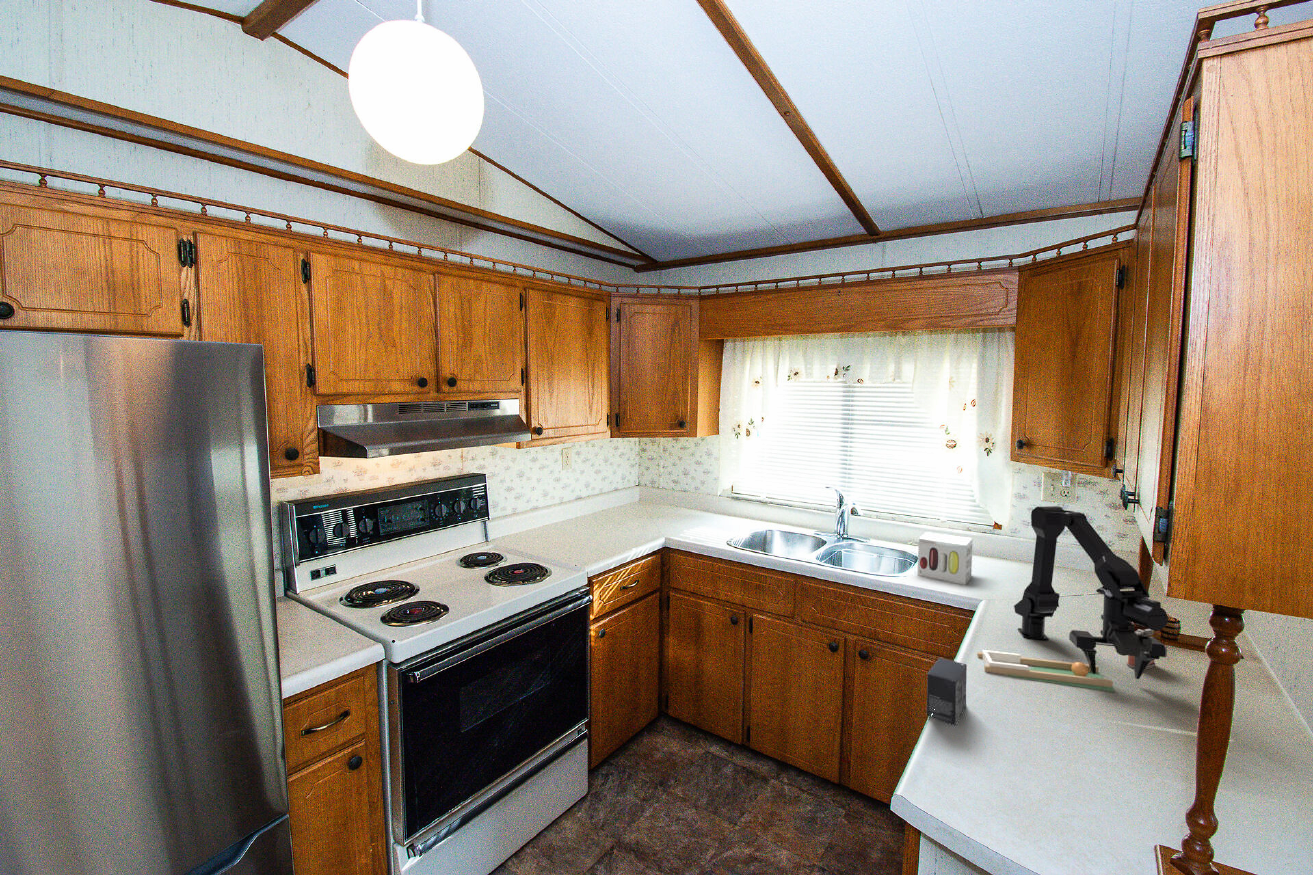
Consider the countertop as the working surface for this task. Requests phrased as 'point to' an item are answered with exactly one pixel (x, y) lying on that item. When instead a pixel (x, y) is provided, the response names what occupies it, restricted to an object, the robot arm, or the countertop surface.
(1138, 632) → the lighter
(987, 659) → the white u-shaped frame
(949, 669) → the small box
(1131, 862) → the countertop surface
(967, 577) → the supplement box
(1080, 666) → the ball
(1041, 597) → the robot arm
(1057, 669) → the track
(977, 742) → the countertop surface
